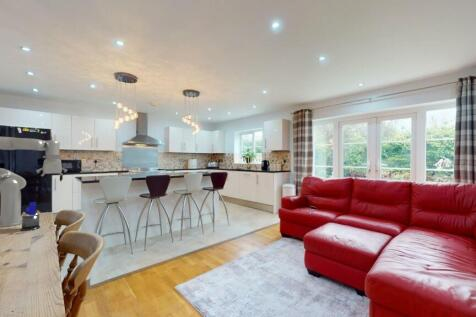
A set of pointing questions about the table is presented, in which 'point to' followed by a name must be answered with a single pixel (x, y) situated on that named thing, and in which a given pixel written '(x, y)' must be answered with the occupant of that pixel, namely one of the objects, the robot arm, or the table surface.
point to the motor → (30, 221)
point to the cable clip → (31, 209)
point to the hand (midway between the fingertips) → (52, 181)
